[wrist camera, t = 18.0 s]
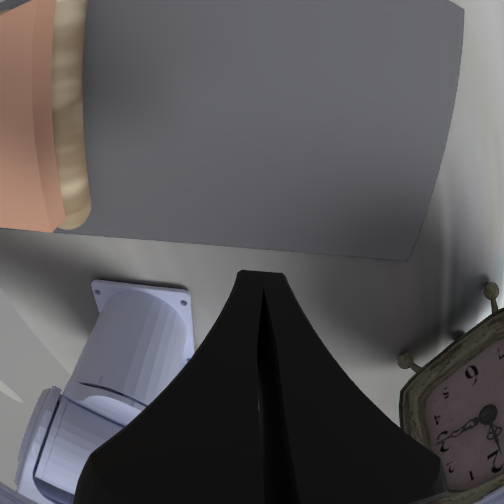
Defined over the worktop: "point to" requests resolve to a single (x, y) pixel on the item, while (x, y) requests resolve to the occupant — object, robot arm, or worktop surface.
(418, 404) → the tabletop clock
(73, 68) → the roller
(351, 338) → the worktop surface
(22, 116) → the slab
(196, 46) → the mat
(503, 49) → the worktop surface
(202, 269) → the worktop surface
